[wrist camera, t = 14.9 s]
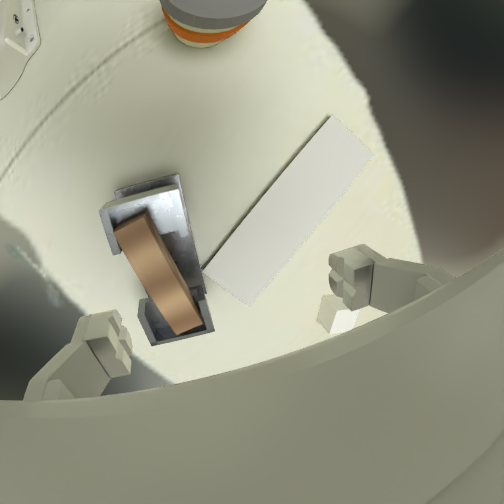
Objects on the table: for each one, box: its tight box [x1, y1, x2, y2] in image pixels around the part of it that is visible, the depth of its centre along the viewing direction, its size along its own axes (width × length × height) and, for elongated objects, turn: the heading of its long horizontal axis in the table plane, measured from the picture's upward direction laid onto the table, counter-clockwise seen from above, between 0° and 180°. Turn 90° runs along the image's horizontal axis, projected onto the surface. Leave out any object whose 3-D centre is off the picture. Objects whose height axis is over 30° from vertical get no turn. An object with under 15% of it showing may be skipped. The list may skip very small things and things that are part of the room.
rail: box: [113, 208, 203, 335], centre depth 33 cm, size 16×4×4 cm, turn 20°
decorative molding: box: [202, 115, 374, 306], centre depth 46 cm, size 34×5×10 cm
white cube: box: [317, 294, 360, 334], centre depth 56 cm, size 6×6×6 cm
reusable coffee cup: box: [160, 0, 267, 48], centre depth 24 cm, size 13×13×15 cm
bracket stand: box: [99, 173, 215, 346], centre depth 38 cm, size 21×10×12 cm, turn 9°
